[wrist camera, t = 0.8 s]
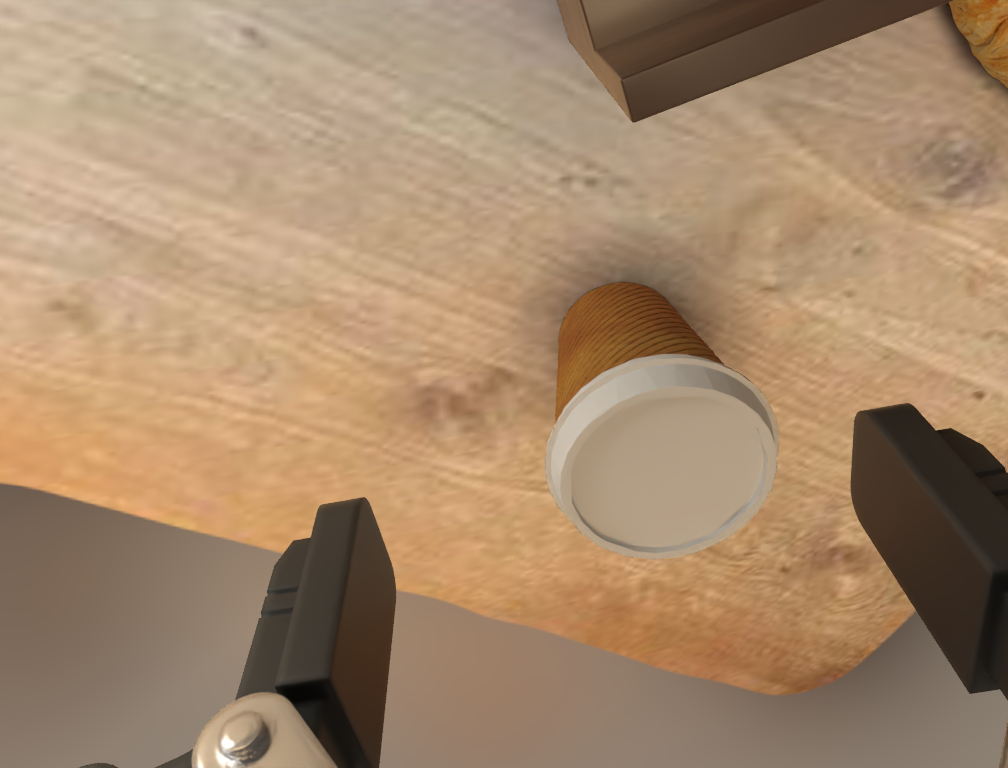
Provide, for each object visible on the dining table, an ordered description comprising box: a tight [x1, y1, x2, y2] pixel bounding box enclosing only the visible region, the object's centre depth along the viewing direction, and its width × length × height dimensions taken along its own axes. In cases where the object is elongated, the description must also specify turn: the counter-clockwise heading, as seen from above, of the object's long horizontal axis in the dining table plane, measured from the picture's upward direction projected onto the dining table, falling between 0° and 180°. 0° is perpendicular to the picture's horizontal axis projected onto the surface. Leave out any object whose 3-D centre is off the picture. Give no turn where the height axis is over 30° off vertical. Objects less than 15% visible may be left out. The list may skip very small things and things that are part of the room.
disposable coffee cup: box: [545, 282, 779, 559], centre depth 36 cm, size 10×10×12 cm
